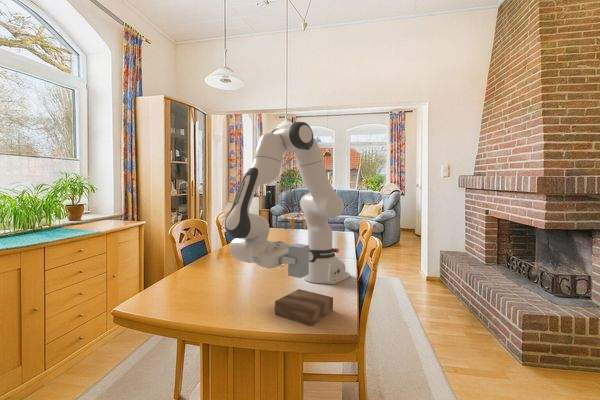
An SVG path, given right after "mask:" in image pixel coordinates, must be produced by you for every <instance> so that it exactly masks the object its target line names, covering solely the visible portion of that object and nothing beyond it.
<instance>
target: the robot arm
mask: <svg viewBox="0 0 600 400" xmlns="http://www.w3.org/2000/svg"><path fill="white" fill-rule="evenodd" d="M313 132H314V131H313V130H312V128H311V126H310V125H309V124H308V123H306V122H304V121H295V122H293V123H292V122H291V123H288V124H284V125H282V126H281V127H278V128H275V129H273V130H272V131H270V132H266V133H264V134H262V135H261V136H260V137H259V139H258V141H257V145H256V148H255V151H254V155H253V159H252V162H251V165H250V167H249V168H248V169H246V170H245V172H244V174H243V175H242V178H241V180H240V183H239V185H238V187H237V188H238V189H237V192H236V194H235V197H234V200H233V202H232V206H231V208H230V210H229V211H228V213H227V215H226V217H225V220H224V229H225V232H226V234H227V235H228V236H229V237H230V238H231V239H232V240H231V241H230V243H229V246H228V247H229V248H228V249H229V253H230V255H231V256H232V258H233V259H235V260H238V261H240V262H244V263H247V264H256V265H257V266H259V267H262V268H266V269H274V268H277V267H280V266H282V265H288V264H295V263H297V258H294V257H292V258H289V257H288V247H289V246H290V245H293V244H294V243H293V244H291V243H286V242H285V241H281V240H280V241H271V240H268V238H269V233H270V223H269V220H268V219H267V218H266V217H265V216H262V215H259V214H255V213H251V212H250V207H251V203H252V202H253V201H252V200H253V199H254V195H255V192H256V190H257V189H258V187H260V186H261V185H268V184H271V183H273V182H274V181H276V180H277V179H278V178H279V175H280V173H281V170H282V163H283V156H284V154H285V153H294V154H295V156H296V162H297V166H298V169H299V173H300V178H301V181H302V184H303V186H305V188H306V189H307V190H308V191H309V193H306V194H304V195H303V196H302V197H301V198H300V201H299V202H300V203H299V206H300V209H301V210H302V212H303V215H304V218H305V221H306V227H307V245H309V274H308V275H306V276H304V277H303V279H304V281H306V282H310V283H314V284H329V285H335V284H338V283H340V282H342V281H344V280H347V279H349V278H351V274H350V272H347V270H346V264H345V262H343V261H342V260H341V259H340V258H339V257H337V256H336V254H338V253H339V252H340V249H339V248H338V247H337V248H336V247H334V248H333V238H334V237H333V233H334V232H333V229H332V228H331V226H330V224H329V221H328V220H329V219H334V218H338V217H340V216H341V215H342V213H343V212H344V209H345V203H344V201H343V199H342V197H341V196H339V195H338V193H337V192H336V191H335V189H334V187H333V186H332V184H331V182H330V180H329V177H328V174H327V171H326V166H325V163H324V159H323V154H322V151H321V149H320V146H319V144H318V142H317V139H316V138H315V137H314V133H313ZM335 253H336V254H335Z"/></svg>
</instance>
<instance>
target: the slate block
mask: <svg viewBox="0 0 600 400" xmlns="http://www.w3.org/2000/svg"><path fill="white" fill-rule="evenodd" d="M288 257H289V258H292V257H294V258H297V263H295V264H287V265H288V267H287V274H288V275H287V276H288V277H293V278H296V279H297V278H298V279H302V278H304V276H306V275H308V274H309V245H308V244H303V243H293V245H290V246H289V247H288Z"/></svg>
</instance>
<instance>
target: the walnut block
mask: <svg viewBox="0 0 600 400" xmlns="http://www.w3.org/2000/svg"><path fill="white" fill-rule="evenodd" d="M332 312H334V296H328V295H325V294H321V293H316V292H313V291H308V290H304V289H300V288H299V289H297V290H295V291H292V292H290V293H288V294H287V295H283V296H282V297H281V298H278V299H277V300H275V301H274V315H275V316H277V317H281V318H284V319H287V320H290V321H293V322H297V323H300V324H303V325H305V326H310V327H313V326H314V325H315V324H317V323H318V322H319V321H320V320H322V319H324V318H325V317H326V316H328V315H329V314H331V313H332Z"/></svg>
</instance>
